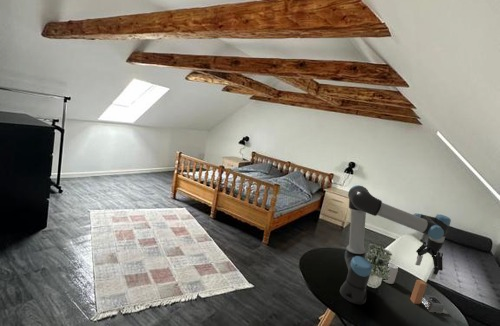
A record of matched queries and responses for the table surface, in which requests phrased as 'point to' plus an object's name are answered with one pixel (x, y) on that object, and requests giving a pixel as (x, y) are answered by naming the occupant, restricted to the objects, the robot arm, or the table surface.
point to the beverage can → (392, 273)
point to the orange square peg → (418, 291)
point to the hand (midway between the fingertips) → (424, 271)
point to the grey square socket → (433, 304)
